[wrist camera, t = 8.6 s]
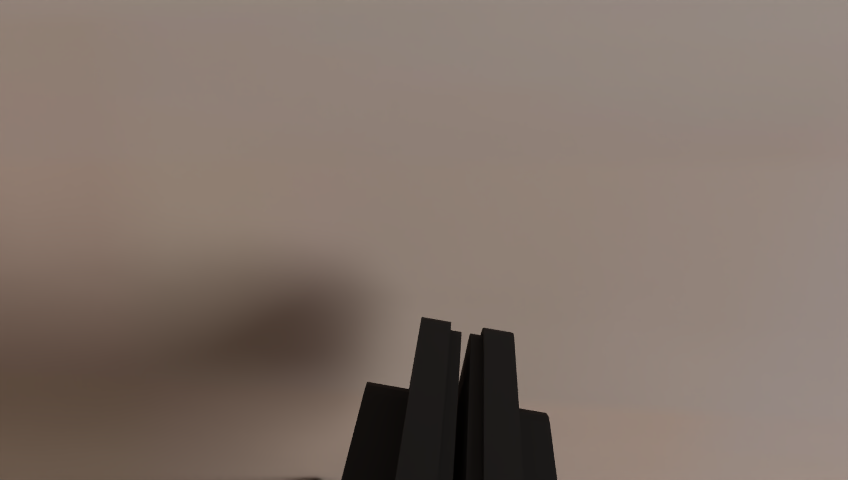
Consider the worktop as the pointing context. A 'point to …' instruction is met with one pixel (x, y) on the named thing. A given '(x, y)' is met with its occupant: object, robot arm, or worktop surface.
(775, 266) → the worktop surface
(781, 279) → the worktop surface
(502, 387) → the robot arm
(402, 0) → the worktop surface
